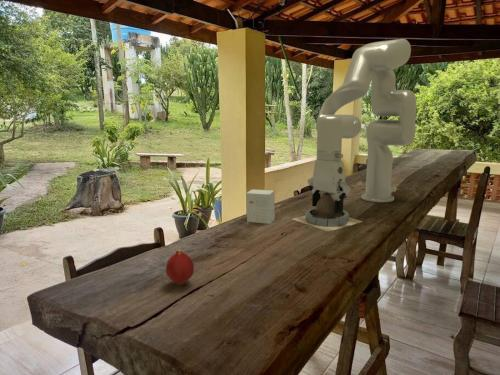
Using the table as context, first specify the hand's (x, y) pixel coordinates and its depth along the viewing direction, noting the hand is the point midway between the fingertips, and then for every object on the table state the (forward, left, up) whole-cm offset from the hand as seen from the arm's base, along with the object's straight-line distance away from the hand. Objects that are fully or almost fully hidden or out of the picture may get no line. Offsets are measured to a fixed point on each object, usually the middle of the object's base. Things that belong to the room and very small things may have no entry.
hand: (327, 208), depth 115 cm
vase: (0, 0, -4) cm, 4 cm away
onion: (+56, +11, -5) cm, 57 cm away
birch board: (0, 0, -5) cm, 5 cm away
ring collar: (0, 0, -4) cm, 4 cm away
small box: (+17, -13, -5) cm, 22 cm away
